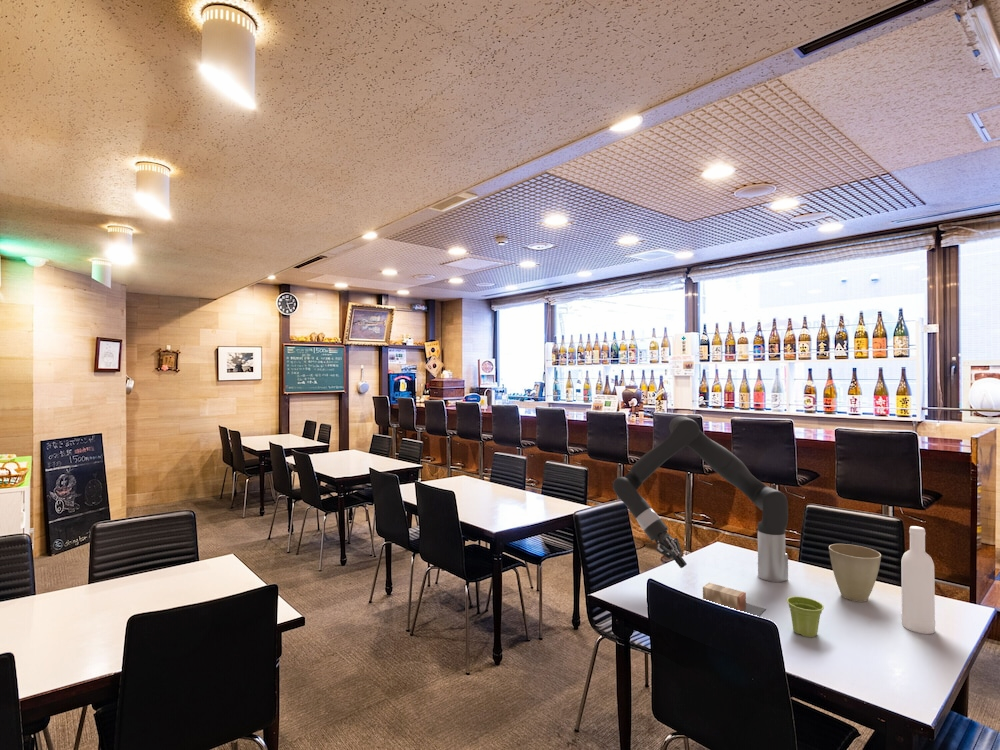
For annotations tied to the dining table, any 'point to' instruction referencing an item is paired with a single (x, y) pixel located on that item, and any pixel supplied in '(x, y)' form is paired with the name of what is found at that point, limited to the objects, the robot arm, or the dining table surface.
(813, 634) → the plant pot
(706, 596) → the oak block
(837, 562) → the plant pot
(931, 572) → the bottle
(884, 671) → the dining table surface
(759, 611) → the slate mat
